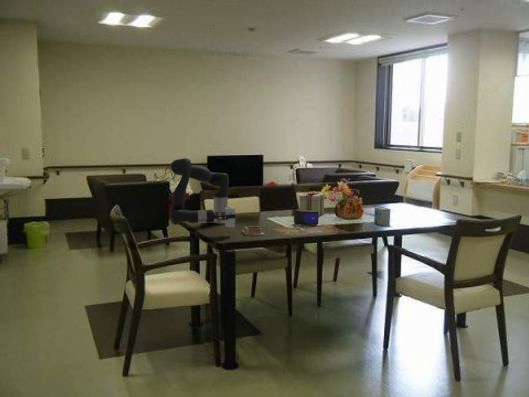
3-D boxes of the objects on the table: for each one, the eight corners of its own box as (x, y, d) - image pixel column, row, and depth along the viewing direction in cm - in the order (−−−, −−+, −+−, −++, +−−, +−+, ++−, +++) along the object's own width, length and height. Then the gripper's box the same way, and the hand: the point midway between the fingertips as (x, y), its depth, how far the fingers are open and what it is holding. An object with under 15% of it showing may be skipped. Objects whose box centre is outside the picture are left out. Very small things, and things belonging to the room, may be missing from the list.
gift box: (300, 212, 404) (301, 189, 402) (324, 213, 398) (325, 191, 396) (294, 215, 388) (295, 192, 386) (319, 217, 382) (319, 193, 380)
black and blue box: (293, 224, 350) (293, 210, 348) (294, 223, 354) (294, 209, 353) (317, 225, 347) (318, 211, 346) (318, 224, 352) (318, 210, 350)
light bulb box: (373, 222, 363) (374, 206, 362) (382, 222, 365) (383, 206, 363) (381, 225, 353) (381, 209, 351) (390, 224, 354) (390, 208, 353)
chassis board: (242, 231, 324) (242, 225, 323) (259, 231, 326) (259, 224, 326) (246, 235, 311) (246, 229, 311) (264, 235, 314) (264, 228, 313)
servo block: (225, 225, 313) (225, 206, 311) (233, 225, 314) (233, 205, 313) (226, 227, 308) (226, 207, 307) (234, 227, 309) (234, 207, 308)
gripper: (206, 212, 300) (236, 211, 304) (203, 207, 314) (232, 207, 317) (206, 225, 301) (236, 224, 305) (204, 220, 315) (232, 219, 318)
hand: (234, 215), depth 311 cm, fingers closed on servo block, 5 cm apart
